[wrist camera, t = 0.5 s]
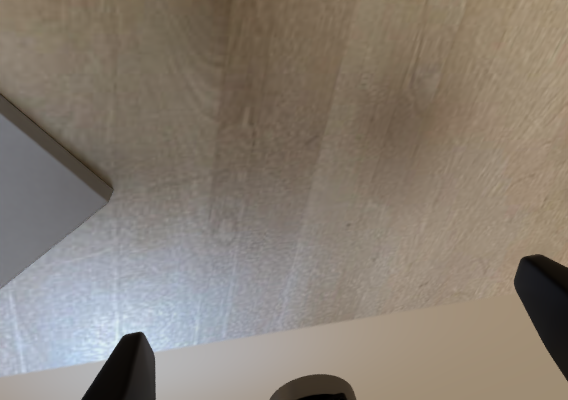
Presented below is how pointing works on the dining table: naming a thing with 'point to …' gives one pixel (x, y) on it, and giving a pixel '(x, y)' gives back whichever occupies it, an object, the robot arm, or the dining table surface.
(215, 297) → the dining table surface
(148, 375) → the robot arm
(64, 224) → the coffee maker
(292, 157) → the dining table surface
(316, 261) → the dining table surface
